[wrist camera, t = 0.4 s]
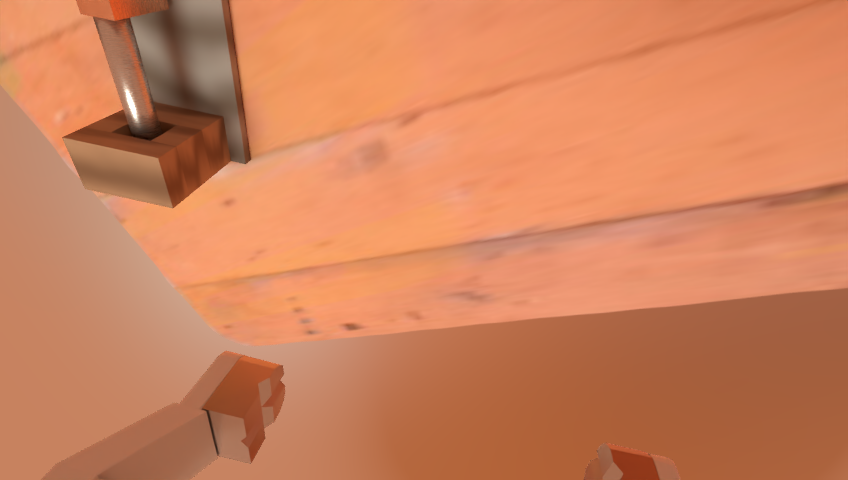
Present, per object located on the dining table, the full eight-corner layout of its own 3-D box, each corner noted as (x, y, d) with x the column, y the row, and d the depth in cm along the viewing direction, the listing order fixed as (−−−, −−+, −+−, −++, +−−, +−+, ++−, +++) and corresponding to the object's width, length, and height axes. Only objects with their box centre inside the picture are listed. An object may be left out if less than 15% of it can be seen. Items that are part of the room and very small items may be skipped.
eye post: (42, -217, 34) (-155, -280, 24) (201, -188, 33) (69, -241, 23) (149, 138, 53) (67, 185, 43) (250, 160, 53) (190, 212, 43)
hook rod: (129, -35, 39) (65, -30, 33) (160, -29, 39) (102, -22, 33) (180, 160, 52) (140, 187, 46) (203, 165, 52) (167, 193, 46)
